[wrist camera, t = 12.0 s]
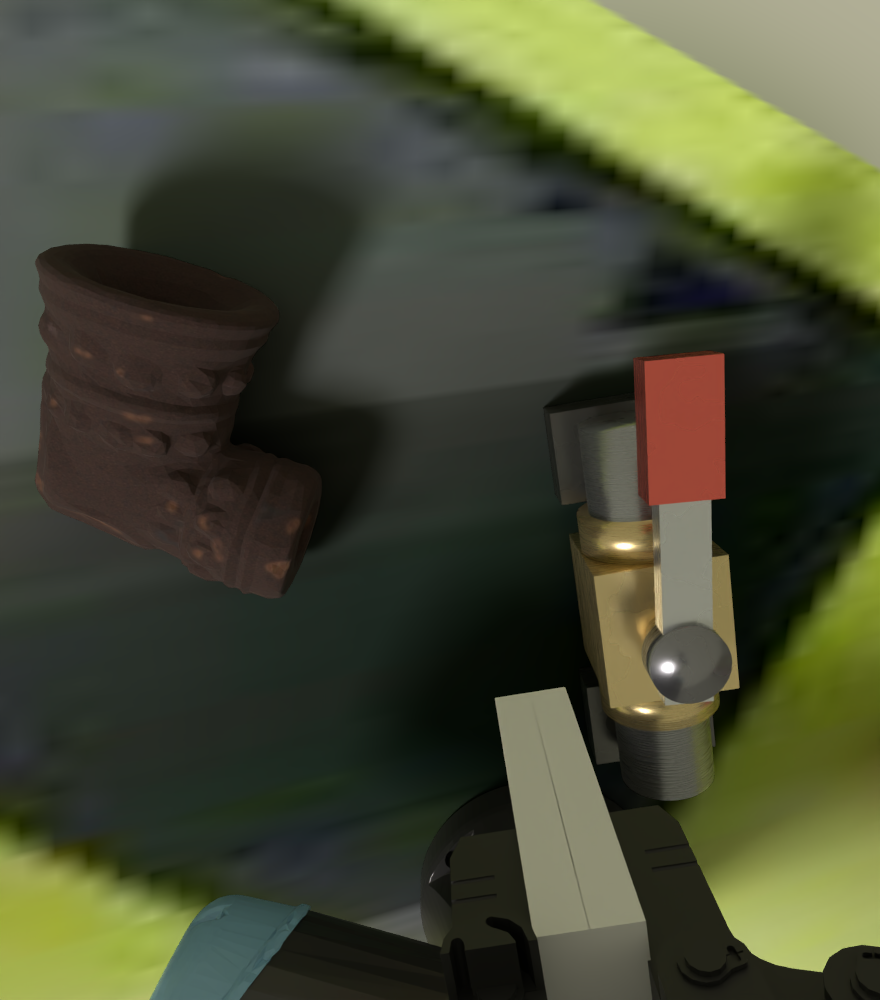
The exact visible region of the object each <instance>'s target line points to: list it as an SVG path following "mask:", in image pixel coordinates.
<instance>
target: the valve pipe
mask: <svg viewBox="0 0 880 1000" xmlns="http://www.w3.org/2000/svg"><path fill="white" fill-rule="evenodd" d="M543 409H544V417H545V424H546V431H547V439H548V446H549V453H550V461H551V468H552V476H553V483H554V490H555V495H556V496H557V498H558V499H559V501H560V503H561V504H562V505H566V504H572V503H578V502H584V501H587V503H586V504H584V505H582V506H581V507H580V508H579V509H578V511H577V520H578V528H579V532H577V533H571V534H569V537H570V545H571V552H572V560H573V567H574V575H575V582H576V590H577V597H578V605H579V612H580V620H581V627H582V635H583V642H584V649H585V651H586V653H587V656H588V658H589V660H590V662H591V665H592V667H586V668H580V669H579V674H580V682H581V689H582V696H583V704H584V711H585V718H586V726H587V733H588V741H589V744H590V747H591V750H592V753H593V755H594V758H595V761H596V764H597V765H598V764H604V763H611V762H617V761H620V767H621V775H622V779H623V781H624V783H625V784H626V786H627V787H628V788H630V789H631V790H632V791H634V792H635V793H637V794H639V795H641V796H644V797H647V798H651V799H655V800H665V801H673V800H682V799H687V798H691V797H694V796H696V795H698V794H700V793H702V792H704V791H705V790H706V789H707V788H709V787H710V785H711V784H712V782H713V780H714V777H715V771H714V761H713V750H712V747H714V746H715V736H714V725H713V714H714V713H715V712H716V710H717V709H718V707H719V703H720V698H719V692H718V693H717V694H716V695H714V701H709V702H699V703H693V704H677V705H666V706H665V704H664V703H663V701H662V699H661V697H660V696H659V694H658V690H657V688H656V687H655V685H654V683H653V682H652V680H651V678H650V676H649V675H648V673H647V671H646V669H645V667H644V665H643V662H642V656H641V652H642V645H643V642H644V639H645V637H646V636H647V634H648V632H649V631H650V630H651V629H652V628H653V627H654V626H655V625H656V619H655V588H654V556H653V525H652V505H651V506H649V505H648V504H647V503H646V502H645V501H644V500H643V499H642V498H641V497H640V496H639V495H638V470H637V442H636V415H635V392H632V393H626V394H620V395H614V396H609V397H603V398H597V399H591V400H585V401H579V402H573V403H567V404H561V405H555V406H549V407H543ZM712 598H713V629H714V630H715V631H716V632H717V634H718V635H719V636H720V637H721V638H722V639H723V641H724V642H725V643H726V644H727V646H728V648H729V650H730V652H731V656H732V670H731V674H730V677H729V679H728V681H727V683H726V684H725V686H724V687H723V688H722V689H721V690H720V691H724V690H731V689H737V688H739V676H738V664H737V652H736V640H735V628H734V616H733V603H732V591H731V579H730V567H729V555H728V554H727V553H726V552H725V551H724V550H722V549H721V548H720V547H719V546H718V545H717V544H716V543H715V542H713V541H712Z"/></svg>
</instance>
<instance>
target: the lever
mask: <svg viewBox="0 0 880 1000" xmlns="http://www.w3.org/2000/svg"><path fill="white" fill-rule="evenodd" d="M633 360H634V387H635V415H636V442H637V470H638V495H639V496H640V497H641V498H642V499H643V500H644V501H645V502H646V503H647V504H648V505H649V506H651V505H652V525H653V556H654V588H655V619H656V625H655V626H654V627H653V628H652V629H651V630H650V631H649V632H648V634H647V636H646V637H645V639H644V642H643V645H642V652H641V656H642V662H643V665H644V667H645V669H646V671H647V673H648V675H649V676H650V678H651V680H652V682H653V683H654V685H655V687H656V688H657V690H658V694H659V696H660V697H661V699H662V701H663V703H664V704H665V706H666V705H677V704H693V703H699V702H709V701H714V695H716V694H717V693H718V692H719V691H720V690H721V689H722V688H723V687H724V686H725V684H726V683H727V681H728V679H729V677H730V674H731V670H732V656H731V652H730V650H729V648H728V646H727V644H726V643H725V642H724V641H723V639H722V638H721V637H720V636H719V635H718V634H717V632H716V631H715V630H714V629H713V598H712V522H711V500H714V499H724V498H726V493H725V376H724V353H719V352H714V351H699V352H688V353H678V354H668V355H658V356H648V357H637V358H633Z"/></svg>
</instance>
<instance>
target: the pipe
mask: <svg viewBox="0 0 880 1000" xmlns="http://www.w3.org/2000/svg"><path fill="white" fill-rule="evenodd" d="M35 265H36V268H37V271H38V273H39V277H40V281H39V291H40V293H41V296H42V298H43V301H44V303H45V311H44V313H43V314H42V316H41V318H40V321H39V325H38V326H39V330H40V334H41V336H42V338H43V340H44V342H45V343H46V344H47V346H48V348H49V352H48V355H47V358H46V368H47V369H46V372H45V374H44V377H43V381H42V401H41V418H40V441H39V451H38V463H37V471H36V477H35V483H36V486H37V489H38V491H39V493H40V495H41V496H42V497H43V499H44V500H45V501H46V503H47V504H48V506H49V507H50V508H51V509H53V510H55V511H57V512H59V513H62V514H64V515H66V516H69V517H72V518H74V519H77V520H79V521H82V522H84V523H86V524H89V525H91V526H93V527H95V528H98V529H100V530H102V531H104V532H107V533H109V534H111V535H113V536H115V537H117V538H120V539H122V540H124V541H126V542H128V543H130V544H133V545H135V546H138V547H141V548H144V549H161V550H163V551H165V552H167V553H169V554H171V555H173V556H175V557H177V558H179V559H181V561H182V564H183V565H185V566H187V568H188V570H189V571H190V573H192V574H194V575H196V576H198V577H200V578H202V579H204V580H207V581H222V582H223V583H224V584H225V585H226V586H227V587H229V588H238V589H239V590H241V592H243V594H247V593H254V594H257V595H260V596H262V597H265V598H280V597H282V596H283V595H284V594H285V593H286V592H287V590H288V588H289V587H290V585H291V584H292V582H293V580H294V577H295V575H296V573H297V571H298V569H299V567H300V565H301V563H302V560H303V557H304V555H305V552H306V549H307V546H308V544H309V541H310V538H311V535H312V532H313V528H314V525H315V521H316V518H317V515H318V511H319V506H320V500H321V494H322V480H321V477H320V474H319V473H318V472H317V471H316V470H315V469H314V468H312V467H310V466H308V465H305V464H301V463H297V462H294V461H292V460H290V459H288V458H277V457H276V456H275V455H274V454H271V453H264V452H263V451H262V450H261V449H260V448H258V447H256V446H253V445H251V444H248V443H243V444H239V445H233V444H232V443H231V442H230V437H231V433H232V430H233V427H234V422H235V413H236V411H237V408H238V404H239V397H240V396H239V393H240V392H241V391H242V390H243V389H244V388H245V387H246V386H247V383H248V382H250V381H251V379H252V376H253V373H254V370H255V369H254V367H253V364H252V362H251V361H252V359H253V357H254V355H255V353H256V351H257V350H258V349H259V348H260V347H261V346H262V345H264V344H265V343H266V341H267V340H268V336H269V332H270V331H271V329H272V328H273V327H274V326H275V325H276V324H277V322H278V321H279V310H278V308H277V307H276V305H275V304H274V303H273V302H272V301H271V300H270V299H269V298H268V297H267V296H265V295H264V294H263V293H261V292H260V291H259V290H257V289H255V288H253V287H251V286H249V285H247V284H245V283H243V282H240V281H238V280H236V279H232V278H227V277H223V276H221V275H219V274H217V273H216V272H214V271H212V270H209V269H206V268H203V267H199V266H196V265H193V264H190V263H186V262H183V261H180V260H176V259H173V258H170V257H167V256H162V255H158V254H153V253H148V252H144V251H139V250H133V249H127V248H121V247H115V246H109V245H97V244H74V245H63V246H58V247H53V248H50V249H48V250H46V251H45V252H43V253H41V254H39V256H38V257H37V259H36V261H35Z"/></svg>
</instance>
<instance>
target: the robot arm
mask: <svg viewBox="0 0 880 1000" xmlns="http://www.w3.org/2000/svg"><path fill="white" fill-rule="evenodd" d="M495 703H496V709H497V715H498V721H499V728H500V734H501V740H502V746H503V752H504V758H505V764H506V771H507V777H508V783H509V785H507V786H503V787H500V788H497V789H494V790H492V791H489V792H487V793H485V794H483V795H481V796H479V797H477V798H475V799H474V800H472V801H470V802H469V803H467V804H466V805H464V806H463V807H462V808H460V809H459V810H458V811H457V812H456V813H454V814H453V815H452V816H451V817H450V818H449V819H448V820H447V821H446V822H445V824H444V825H443V826H442V827H441V829H440V830H439V831H438V833H437V834H436V836H435V837H434V839H433V841H432V843H431V845H430V847H429V849H428V851H427V854H426V856H425V860H424V863H423V868H422V874H421V917H422V923H423V928H424V932H425V935H426V938H427V941H428V943H425V942H421V941H418V940H414V939H411V938H407V937H403V936H400V935H396V934H393V933H389V932H385V931H382V930H378V929H375V928H371V927H367V926H364V925H360V924H357V923H353V922H349V921H346V920H342V919H339V918H335V917H331V916H328V915H324V914H321V913H317V912H313V911H310V910H311V906H309V905H306V904H300V905H299V906H297V907H294V906H290V905H285V904H281V903H276V902H271V901H267V900H262V899H257V898H253V897H248V896H244V895H228V896H224V897H221V898H218V899H216V900H215V901H213V902H211V903H210V904H208V905H207V906H206V907H204V908H203V909H202V910H201V911H200V912H199V914H198V915H197V916H196V917H195V918H194V920H193V921H192V923H191V924H190V926H189V927H188V929H187V931H186V932H185V934H184V936H183V938H182V939H181V941H180V943H179V945H178V947H177V948H176V950H175V952H174V954H173V956H172V957H171V959H170V961H169V963H168V965H167V967H166V969H165V971H164V972H163V974H162V976H161V978H160V980H159V982H158V984H157V986H156V988H155V990H154V992H153V994H152V996H151V998H150V1000H880V947H874V946H866V945H859V946H854V947H849V948H843V949H841V950H840V951H838V952H837V953H835V954H834V955H832V956H831V957H829V959H828V961H827V963H826V966H825V968H824V970H823V972H815V971H807V970H799V969H792V968H787V967H782V966H778V965H774V964H772V963H769V962H767V961H764V960H762V959H760V958H758V957H756V956H755V955H753V954H752V953H751V952H750V951H749V950H748V948H747V947H746V946H745V944H744V943H742V942H741V941H739V940H737V939H736V938H734V936H733V935H732V933H731V932H730V930H729V928H728V926H727V924H726V922H725V920H724V917H723V915H722V913H721V911H720V909H719V907H718V905H717V903H716V900H715V898H714V896H713V894H712V892H711V890H710V888H709V886H708V883H707V881H706V879H705V877H704V875H703V873H702V871H701V869H700V866H699V865H698V864H697V860H696V858H695V856H694V854H693V852H692V850H691V847H689V843H688V841H687V839H686V837H685V835H684V833H683V830H682V828H681V826H680V824H679V822H678V821H677V820H676V819H674V818H673V817H672V816H671V815H669V814H668V813H667V812H666V811H665V810H663V809H662V808H661V807H660V806H659V805H655V806H648V807H642V808H635V809H629V810H623V809H622V808H621V807H620V806H618V805H617V804H616V803H614V802H613V801H611V800H610V799H608V798H606V797H605V796H603V795H602V792H601V790H600V787H599V784H598V781H597V778H596V775H595V772H594V769H593V766H592V764H591V761H590V758H589V755H588V752H587V749H586V746H585V743H584V740H583V737H582V735H581V732H580V729H579V726H578V723H577V720H576V717H575V714H574V711H573V709H572V706H571V703H570V700H569V697H568V694H567V691H566V688H565V687H561V688H554V689H548V690H542V691H536V692H529V693H523V694H517V695H510V696H504V697H498V698H495Z"/></svg>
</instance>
